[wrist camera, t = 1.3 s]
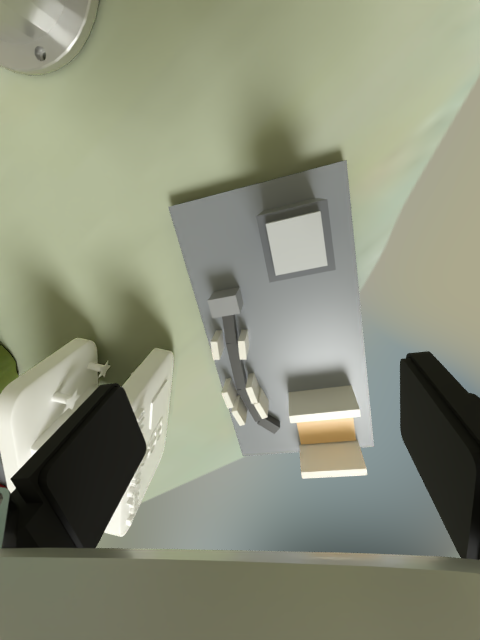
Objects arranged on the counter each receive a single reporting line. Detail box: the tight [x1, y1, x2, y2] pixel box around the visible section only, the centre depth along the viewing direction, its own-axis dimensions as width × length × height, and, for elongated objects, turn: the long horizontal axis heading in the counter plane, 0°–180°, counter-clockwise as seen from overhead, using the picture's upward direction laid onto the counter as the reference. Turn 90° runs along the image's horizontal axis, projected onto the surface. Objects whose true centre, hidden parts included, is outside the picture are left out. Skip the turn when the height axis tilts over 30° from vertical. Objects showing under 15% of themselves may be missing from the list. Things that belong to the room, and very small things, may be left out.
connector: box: [256, 198, 336, 283], centre depth 20 cm, size 4×4×8 cm
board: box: [169, 160, 374, 478], centre depth 27 cm, size 27×14×5 cm, turn 13°
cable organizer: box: [0, 338, 174, 537], centre depth 29 cm, size 15×11×12 cm
